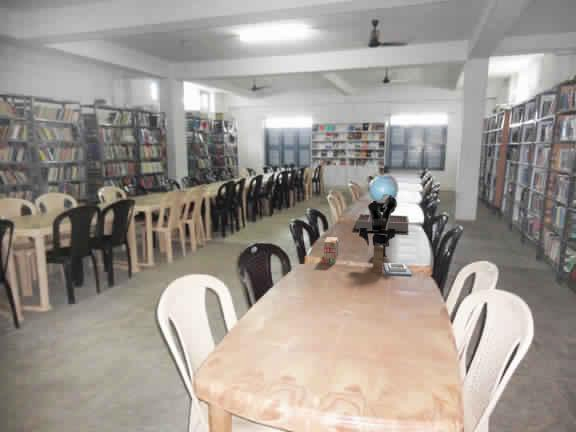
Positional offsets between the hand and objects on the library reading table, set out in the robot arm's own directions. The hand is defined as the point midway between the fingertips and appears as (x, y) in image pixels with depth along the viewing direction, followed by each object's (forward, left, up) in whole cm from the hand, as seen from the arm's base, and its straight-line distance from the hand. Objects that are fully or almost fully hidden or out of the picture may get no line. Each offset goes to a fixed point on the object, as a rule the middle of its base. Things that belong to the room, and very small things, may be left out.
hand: (377, 245), depth 205 cm
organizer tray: (-108, +12, -12) cm, 109 cm away
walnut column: (+5, 0, -12) cm, 13 cm away
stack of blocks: (-15, -24, -12) cm, 31 cm away
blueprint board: (+2, +10, -12) cm, 16 cm away
